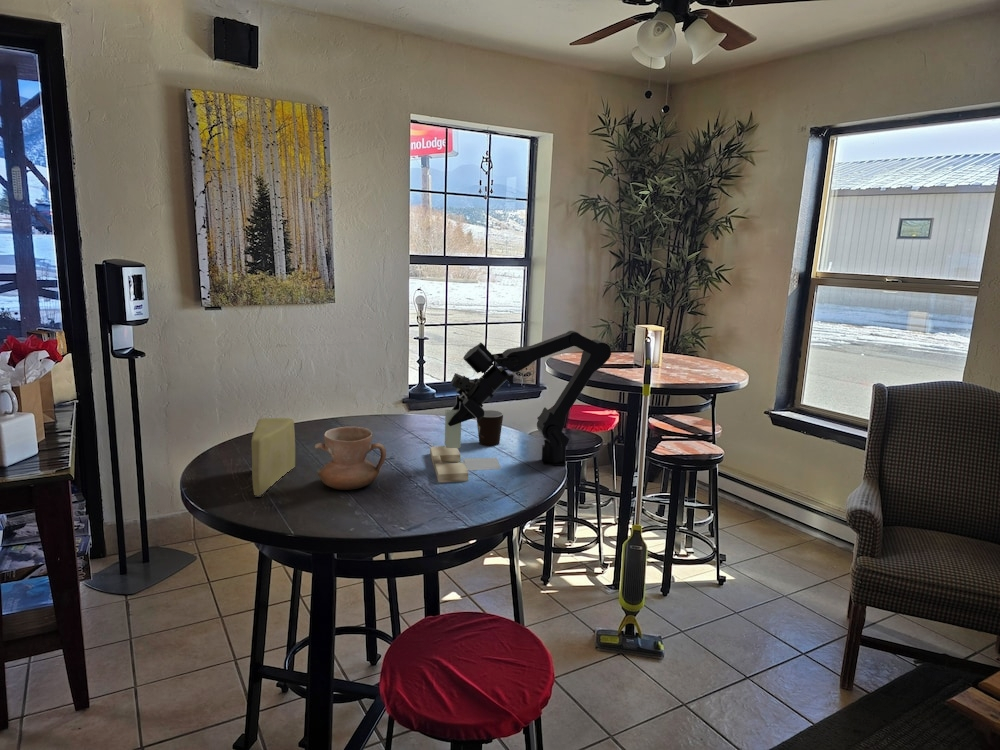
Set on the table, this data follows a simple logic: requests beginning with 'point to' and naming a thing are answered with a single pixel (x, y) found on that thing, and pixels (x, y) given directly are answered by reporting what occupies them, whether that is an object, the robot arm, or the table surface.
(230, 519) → the table surface
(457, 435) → the sage block
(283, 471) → the cheese
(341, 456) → the ceramic jug
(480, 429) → the coffee mug
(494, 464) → the mat
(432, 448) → the block
